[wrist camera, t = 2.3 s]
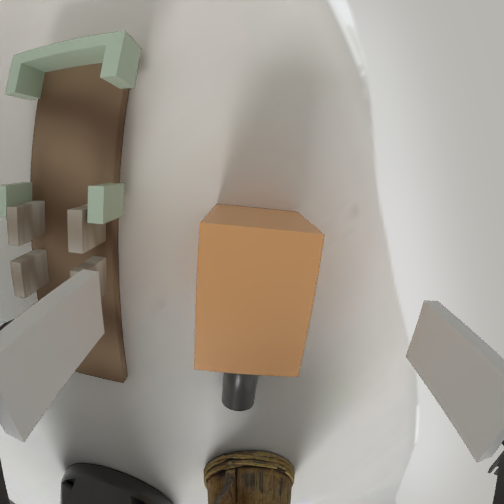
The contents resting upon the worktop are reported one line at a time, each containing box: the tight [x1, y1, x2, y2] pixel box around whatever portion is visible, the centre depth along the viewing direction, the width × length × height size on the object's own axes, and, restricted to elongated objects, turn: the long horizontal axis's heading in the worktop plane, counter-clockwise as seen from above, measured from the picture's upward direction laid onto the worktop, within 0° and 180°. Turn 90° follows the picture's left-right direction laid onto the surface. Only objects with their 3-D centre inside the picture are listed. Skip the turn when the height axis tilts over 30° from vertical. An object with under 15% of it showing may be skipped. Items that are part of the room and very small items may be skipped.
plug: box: [194, 204, 324, 411], centre depth 18 cm, size 14×5×7 cm, turn 174°
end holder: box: [0, 31, 142, 224], centre depth 15 cm, size 11×9×3 cm
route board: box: [7, 63, 129, 383], centre depth 17 cm, size 24×7×4 cm, turn 174°
